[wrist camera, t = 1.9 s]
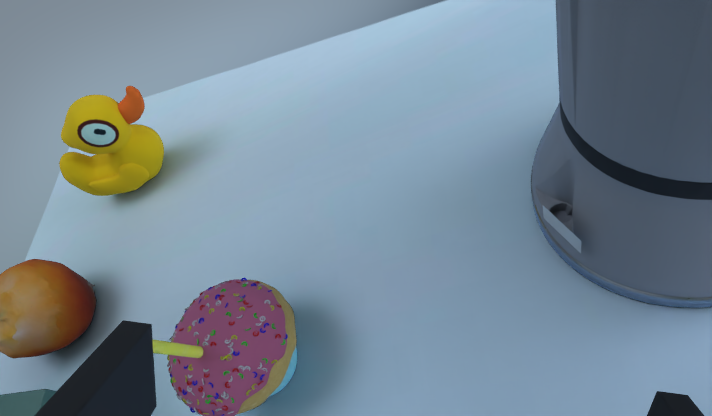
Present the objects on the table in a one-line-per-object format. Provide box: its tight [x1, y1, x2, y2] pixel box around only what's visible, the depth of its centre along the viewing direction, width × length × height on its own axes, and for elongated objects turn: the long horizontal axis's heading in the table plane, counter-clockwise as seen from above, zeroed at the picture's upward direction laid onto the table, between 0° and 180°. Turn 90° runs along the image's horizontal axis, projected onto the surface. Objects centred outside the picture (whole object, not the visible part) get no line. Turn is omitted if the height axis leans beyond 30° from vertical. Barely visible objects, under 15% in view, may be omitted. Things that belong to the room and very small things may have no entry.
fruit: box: [0, 259, 96, 358], centre depth 40 cm, size 8×8×8 cm
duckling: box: [59, 86, 164, 196], centre depth 45 cm, size 11×5×10 cm, turn 113°
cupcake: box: [152, 278, 297, 416], centre depth 29 cm, size 9×8×12 cm
